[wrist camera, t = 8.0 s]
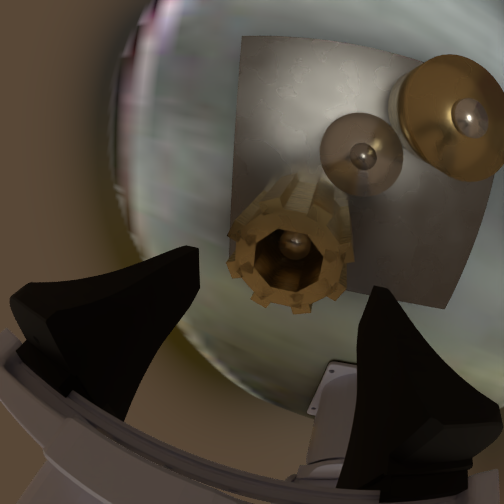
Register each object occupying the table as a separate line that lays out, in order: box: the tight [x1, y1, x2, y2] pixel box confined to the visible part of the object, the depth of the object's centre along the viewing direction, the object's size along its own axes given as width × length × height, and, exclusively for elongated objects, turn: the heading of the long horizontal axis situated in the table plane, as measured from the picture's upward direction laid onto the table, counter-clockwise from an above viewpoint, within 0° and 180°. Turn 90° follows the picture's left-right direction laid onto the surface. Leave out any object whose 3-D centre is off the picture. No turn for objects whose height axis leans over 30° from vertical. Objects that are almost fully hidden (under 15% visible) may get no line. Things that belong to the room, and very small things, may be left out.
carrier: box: [229, 36, 504, 309], centre depth 12 cm, size 15×16×6 cm
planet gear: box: [226, 173, 355, 314], centre depth 14 cm, size 6×6×5 cm
